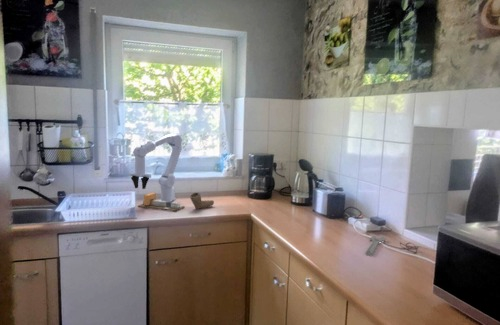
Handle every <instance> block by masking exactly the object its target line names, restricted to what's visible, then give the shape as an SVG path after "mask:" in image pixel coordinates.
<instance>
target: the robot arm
mask: <svg viewBox="0 0 500 325" xmlns="http://www.w3.org/2000/svg"><path fill="white" fill-rule="evenodd" d="M182 142H183V138H182V137H181V135H180V134H172V133H169V134H166V135H164V136H162V137H161V138H159V139H157V140H155V141H149V140H148V141H147V142H145V143H144V144H141V145H140V146H136V147H135V148H134V149H133V151H132V153H133V155H134V172H129V173H128V177H130V178H131V181H132V183H133V185H134V186H133V187H134V189H138V188H139V180H141V186H142V187H141V188H142V189H141V190H145V189H146V188H147V183H148V182H149V179H150V178H152V174H150V173H146V156H147V154H149V153H151V152H153V151H155V150H156V148H157V147H159V146H162V145H164V144H166V143H167V144H168V145H169V146H170V147H171V148H172V150H171V154H170V156H169V159H168V162H167V165H166V169H165V171H164V172H163V173H162V174H161V176H160V177H159V179H158V184H159V185H160V199H159V200H163V201H173V202H174V201H175V200H176V196H175V195H176V193H175V192H176V190H175V187H174V185H175V178H176V177H175V170H176V167H177V164H178V162H179V158H180V155H181V152H182V149H183V148H182Z"/></svg>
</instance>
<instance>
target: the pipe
mask: <svg viewBox="0 0 500 325" xmlns="http://www.w3.org/2000/svg"><path fill="white" fill-rule="evenodd" d="M189 198H190V200H191V202H192V204H193V206H194V208H195V210H199V209H202V208H207V207H212V206H213V205H214V204H215V201H214V199H213V200H212V199H211V200H209V199H208V200H205V199H204V200H202V196H201V193H200V192H194V193H191V194H190V195H189Z"/></svg>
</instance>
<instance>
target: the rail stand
mask: <svg viewBox="0 0 500 325" xmlns="http://www.w3.org/2000/svg"><path fill="white" fill-rule="evenodd" d="M137 207H138V208H142V209H152V210H160V211H169V212H175V213H177V212H179V211H180V210H183V209H185V206H184V205H181V202H179V201H174V200H173V201H163V200H160V199H156V200H154V199H151V200H150V205H144V198H143V199H142V203H140V204H138V205H137Z"/></svg>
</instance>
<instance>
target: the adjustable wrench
mask: <svg viewBox="0 0 500 325" xmlns="http://www.w3.org/2000/svg"><path fill="white" fill-rule="evenodd" d="M386 239H387V238H385V237H384V236H380V238H377V237H376V236H375V235H373V236H370V237H369V241H370V242H371V244H370V245H369V246H368V248H367V249H366V250H365V255H366V256H368V257H369V256H370V257H372V256H373V254H374V253H375V251H376V250H377V248H376V247H378V246H379V245H380V244H379V242H382V241H385V240H386ZM385 242H386V241H385ZM377 245H378V246H377Z"/></svg>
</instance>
